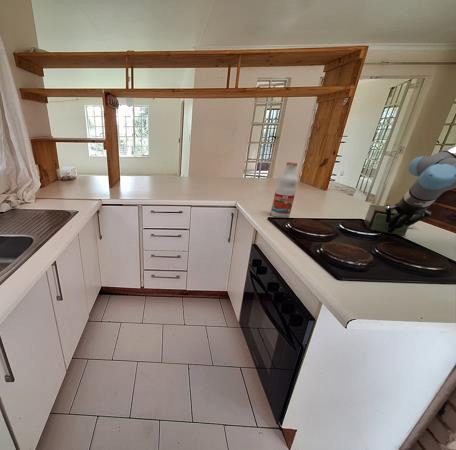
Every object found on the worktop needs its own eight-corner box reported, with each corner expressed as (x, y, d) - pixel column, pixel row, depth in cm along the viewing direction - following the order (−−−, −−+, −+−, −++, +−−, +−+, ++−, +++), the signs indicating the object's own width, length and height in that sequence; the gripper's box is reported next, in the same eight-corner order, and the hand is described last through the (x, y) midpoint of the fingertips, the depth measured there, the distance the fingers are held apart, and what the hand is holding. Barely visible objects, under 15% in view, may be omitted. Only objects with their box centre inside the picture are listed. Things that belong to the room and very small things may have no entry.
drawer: (405, 236, 102) (412, 219, 100) (371, 230, 108) (377, 214, 106) (397, 227, 114) (403, 212, 111) (367, 222, 120) (372, 207, 117)
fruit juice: (289, 214, 130) (301, 162, 120) (289, 219, 122) (303, 164, 112) (270, 212, 134) (281, 161, 124) (269, 216, 126) (281, 162, 116)
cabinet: (403, 235, 106) (412, 215, 103) (367, 229, 113) (374, 210, 109) (396, 227, 117) (403, 208, 114) (363, 221, 124) (370, 204, 121)
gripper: (392, 204, 87) (369, 233, 106) (443, 211, 80) (409, 241, 99) (394, 188, 90) (372, 219, 108) (444, 194, 83) (411, 226, 102)
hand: (390, 229), depth 104 cm, fingers closed
